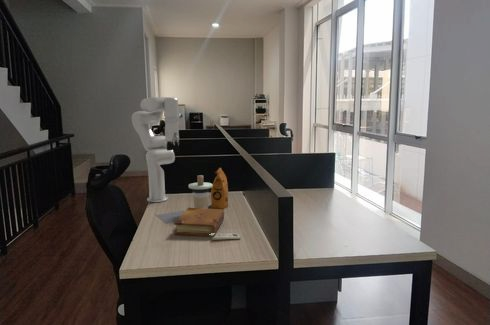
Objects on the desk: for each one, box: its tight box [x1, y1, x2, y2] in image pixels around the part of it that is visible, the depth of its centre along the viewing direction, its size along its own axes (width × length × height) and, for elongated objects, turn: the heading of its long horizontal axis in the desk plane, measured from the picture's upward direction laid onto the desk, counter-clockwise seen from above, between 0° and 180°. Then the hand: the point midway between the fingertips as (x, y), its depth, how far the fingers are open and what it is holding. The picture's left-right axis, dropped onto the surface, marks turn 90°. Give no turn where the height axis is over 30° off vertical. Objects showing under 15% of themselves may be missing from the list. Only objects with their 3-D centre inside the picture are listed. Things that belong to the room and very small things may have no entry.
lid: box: [187, 174, 213, 190], centre depth 201 cm, size 13×13×6 cm
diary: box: [174, 207, 225, 237], centre depth 180 cm, size 23×19×6 cm
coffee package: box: [210, 167, 229, 210], centre depth 215 cm, size 10×12×22 cm
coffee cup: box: [191, 188, 210, 209], centre depth 202 cm, size 9×9×15 cm
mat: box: [155, 210, 186, 224], centre depth 196 cm, size 16×16×1 cm
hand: (172, 151), depth 207 cm, fingers open, 9 cm apart
